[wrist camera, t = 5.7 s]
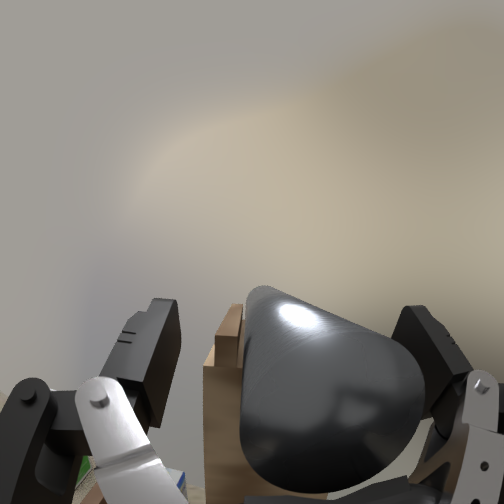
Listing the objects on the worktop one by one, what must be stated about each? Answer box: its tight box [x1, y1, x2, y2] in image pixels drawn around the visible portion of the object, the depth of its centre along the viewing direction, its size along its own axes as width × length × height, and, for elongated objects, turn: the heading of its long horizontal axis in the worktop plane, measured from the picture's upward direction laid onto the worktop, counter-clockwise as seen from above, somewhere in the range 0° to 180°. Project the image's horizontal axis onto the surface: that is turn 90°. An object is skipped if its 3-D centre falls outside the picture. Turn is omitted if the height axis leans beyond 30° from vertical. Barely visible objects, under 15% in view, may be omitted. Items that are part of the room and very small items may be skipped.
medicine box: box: [165, 468, 188, 501], centre depth 26 cm, size 8×4×9 cm, turn 176°
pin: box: [239, 286, 425, 494], centre depth 15 cm, size 3×23×3 cm, turn 1°
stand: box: [203, 304, 328, 504], centre depth 19 cm, size 7×15×34 cm, turn 1°
